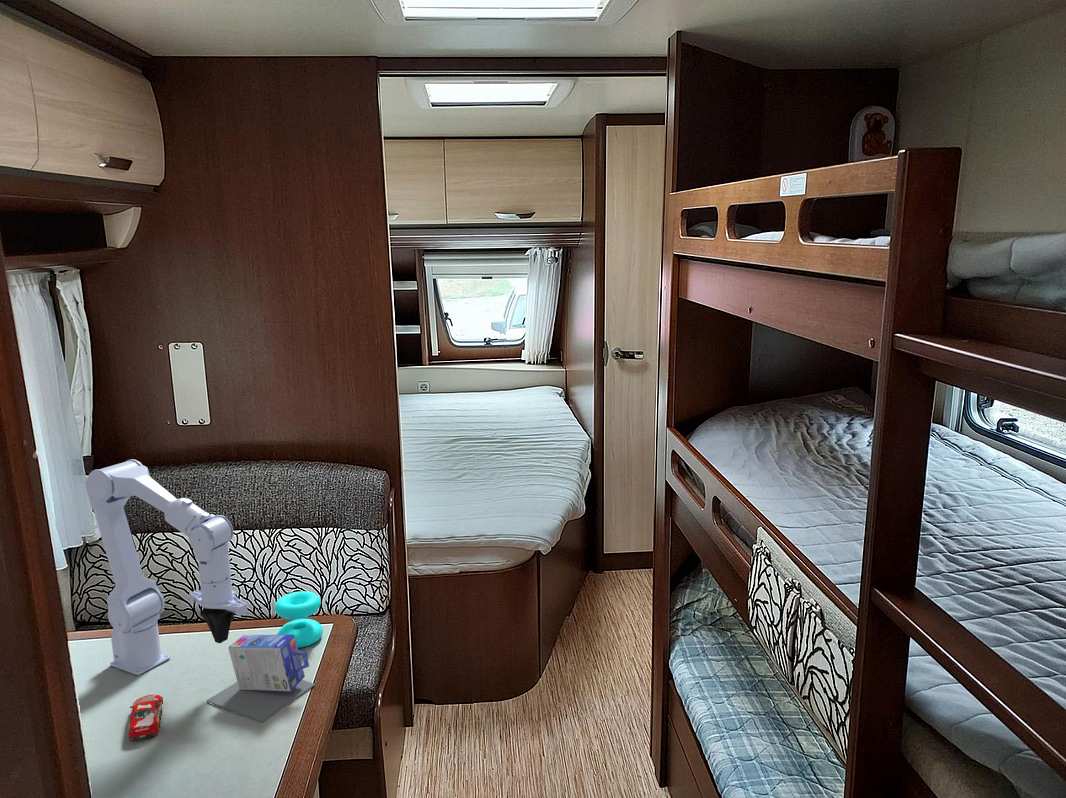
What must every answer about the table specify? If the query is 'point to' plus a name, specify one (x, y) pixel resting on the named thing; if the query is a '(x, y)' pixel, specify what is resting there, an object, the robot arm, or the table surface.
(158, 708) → the race car
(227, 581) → the robot arm
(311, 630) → the donuts
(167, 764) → the table surface
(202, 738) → the table surface
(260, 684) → the ink cartridge box
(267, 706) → the mat
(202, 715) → the table surface
